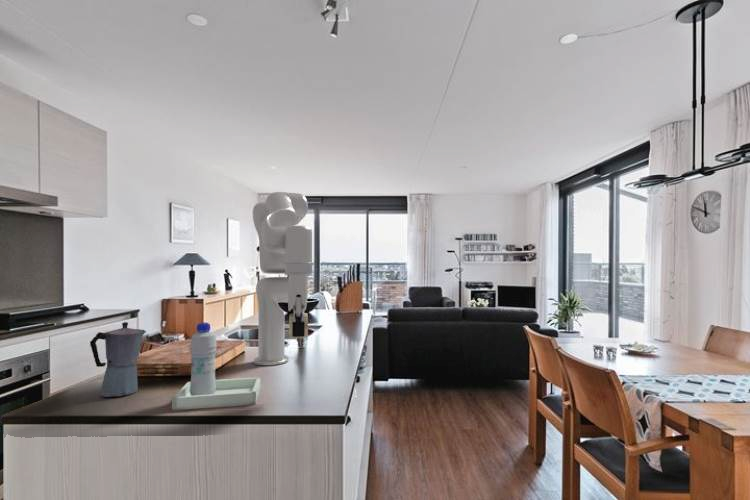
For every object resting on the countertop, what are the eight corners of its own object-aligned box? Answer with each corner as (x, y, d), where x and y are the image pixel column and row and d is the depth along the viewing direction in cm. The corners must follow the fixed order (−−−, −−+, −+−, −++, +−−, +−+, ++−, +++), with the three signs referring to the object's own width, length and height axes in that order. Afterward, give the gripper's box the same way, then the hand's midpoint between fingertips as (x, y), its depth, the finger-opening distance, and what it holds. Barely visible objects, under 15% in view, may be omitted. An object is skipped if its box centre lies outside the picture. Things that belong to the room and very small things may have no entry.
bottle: (206, 401, 100) (206, 324, 100) (183, 400, 101) (184, 324, 102) (221, 393, 106) (222, 320, 107) (200, 392, 107) (200, 320, 108)
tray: (187, 392, 109) (188, 381, 109) (260, 387, 113) (260, 377, 113) (172, 410, 95) (172, 398, 96) (255, 404, 99) (255, 392, 99)
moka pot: (155, 387, 114) (156, 319, 115) (103, 405, 100) (105, 327, 100) (131, 384, 117) (132, 318, 118) (78, 401, 103) (80, 326, 103)
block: (289, 335, 109) (289, 314, 109) (307, 334, 110) (307, 313, 110) (289, 338, 104) (289, 316, 105) (307, 337, 105) (307, 315, 106)
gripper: (286, 269, 115) (285, 329, 115) (283, 270, 99) (283, 341, 98) (311, 269, 117) (311, 328, 116) (313, 270, 100) (313, 340, 100)
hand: (298, 333), depth 107 cm, fingers closed on block, 5 cm apart
